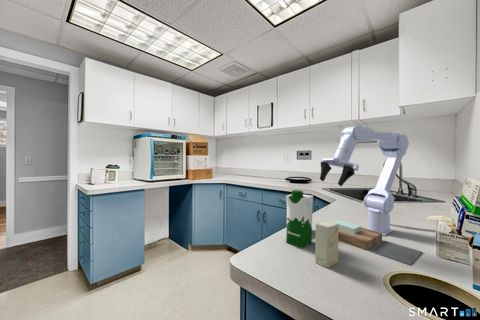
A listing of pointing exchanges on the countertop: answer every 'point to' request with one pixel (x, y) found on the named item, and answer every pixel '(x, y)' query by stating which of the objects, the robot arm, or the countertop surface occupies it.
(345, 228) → the mint green flat block
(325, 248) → the skincare box
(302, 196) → the milk carton
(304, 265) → the countertop surface
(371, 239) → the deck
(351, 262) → the countertop surface
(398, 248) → the mat
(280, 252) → the countertop surface
